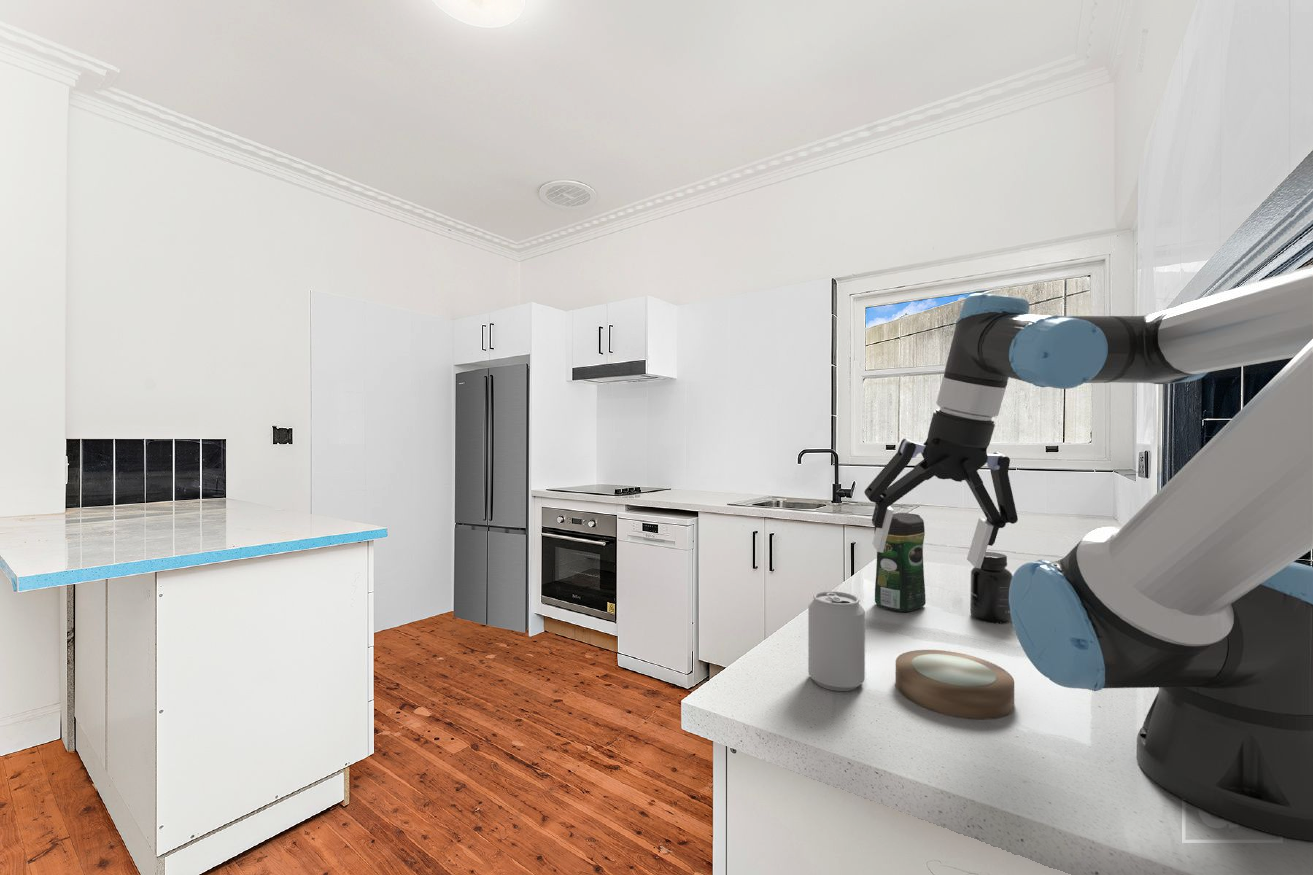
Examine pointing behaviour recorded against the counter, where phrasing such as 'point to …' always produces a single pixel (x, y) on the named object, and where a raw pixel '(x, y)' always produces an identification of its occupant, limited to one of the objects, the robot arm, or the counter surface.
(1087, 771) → the counter surface
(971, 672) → the pedestal
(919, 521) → the coffee jar
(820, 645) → the can
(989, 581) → the supplement bottle
